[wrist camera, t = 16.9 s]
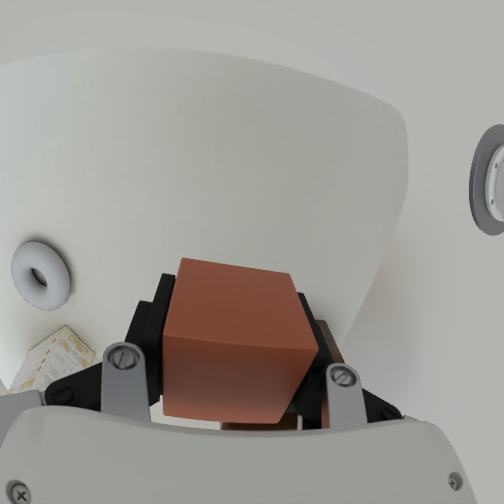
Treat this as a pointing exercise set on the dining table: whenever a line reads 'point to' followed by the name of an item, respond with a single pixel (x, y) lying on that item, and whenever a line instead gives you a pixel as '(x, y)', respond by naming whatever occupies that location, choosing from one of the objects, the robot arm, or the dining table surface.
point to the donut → (50, 269)
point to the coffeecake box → (52, 361)
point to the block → (233, 344)
